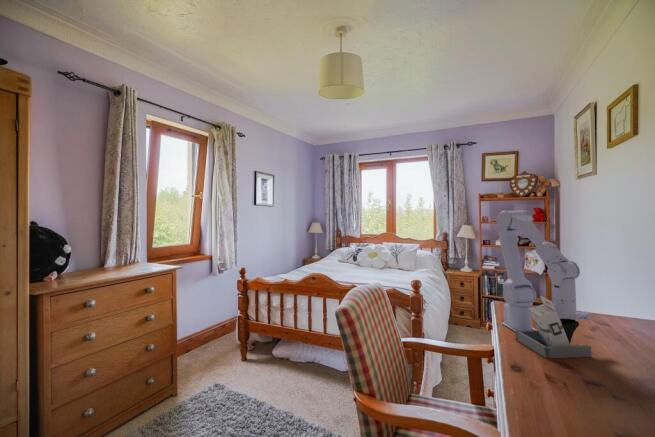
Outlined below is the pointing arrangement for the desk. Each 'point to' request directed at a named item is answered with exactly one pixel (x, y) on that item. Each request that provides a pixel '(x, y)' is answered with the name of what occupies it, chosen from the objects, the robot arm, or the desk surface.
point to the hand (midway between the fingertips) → (566, 342)
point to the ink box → (549, 324)
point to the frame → (551, 351)
